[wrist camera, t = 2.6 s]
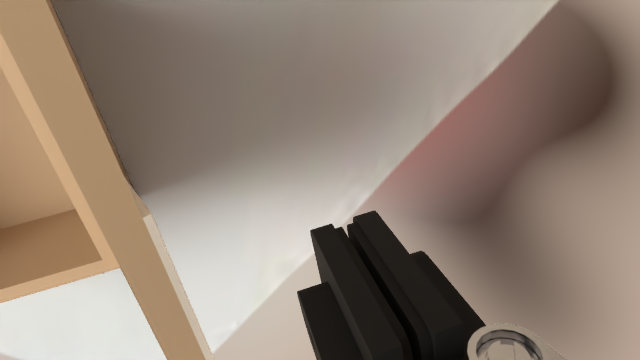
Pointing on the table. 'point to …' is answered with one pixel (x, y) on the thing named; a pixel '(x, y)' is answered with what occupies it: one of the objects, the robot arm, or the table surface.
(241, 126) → the table surface
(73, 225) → the box
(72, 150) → the lid
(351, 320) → the robot arm
